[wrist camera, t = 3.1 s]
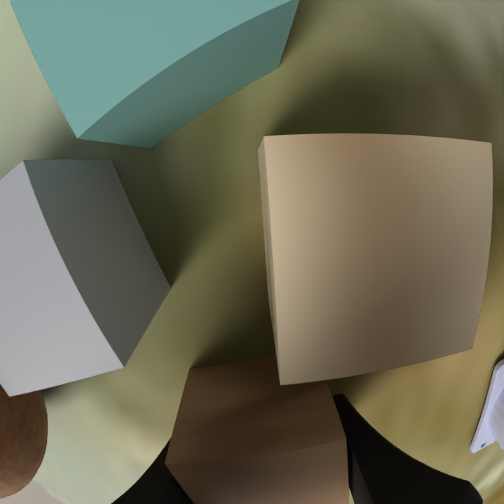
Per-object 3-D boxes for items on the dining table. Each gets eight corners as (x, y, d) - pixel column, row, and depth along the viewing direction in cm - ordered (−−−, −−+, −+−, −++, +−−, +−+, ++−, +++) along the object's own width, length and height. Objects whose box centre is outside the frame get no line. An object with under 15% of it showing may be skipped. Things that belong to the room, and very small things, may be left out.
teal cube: (201, -24, 8) (178, -110, 3) (278, 68, 9) (300, -4, 4) (88, 49, 9) (10, 1, 4) (151, 149, 10) (77, 138, 5)
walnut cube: (314, 344, 12) (346, 438, 7) (326, 428, 13) (349, 512, 8) (189, 368, 12) (164, 463, 7) (223, 446, 13) (217, 531, 8)
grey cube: (112, 159, 10) (23, 160, 5) (171, 287, 11) (124, 367, 6) (20, 220, 10) (-68, 251, 6) (73, 327, 12) (9, 396, 7)
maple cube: (399, 147, 10) (491, 142, 5) (398, 283, 11) (471, 348, 6) (257, 151, 10) (263, 136, 5) (268, 296, 11) (279, 385, 6)
